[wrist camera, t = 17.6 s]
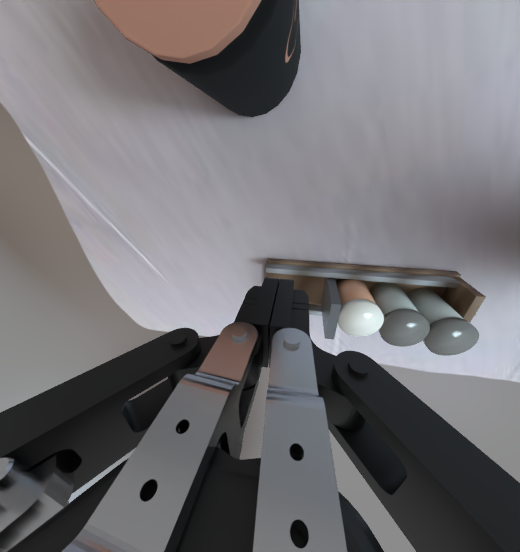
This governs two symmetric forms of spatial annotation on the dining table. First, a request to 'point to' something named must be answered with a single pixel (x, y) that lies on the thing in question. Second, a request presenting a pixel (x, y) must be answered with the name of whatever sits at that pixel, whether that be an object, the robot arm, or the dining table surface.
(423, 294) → the grey jar
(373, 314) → the terracotta jar
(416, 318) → the grey jar
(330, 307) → the pusher paddle
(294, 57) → the coffee jar
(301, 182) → the dining table surface
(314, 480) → the robot arm
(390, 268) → the jar lane
